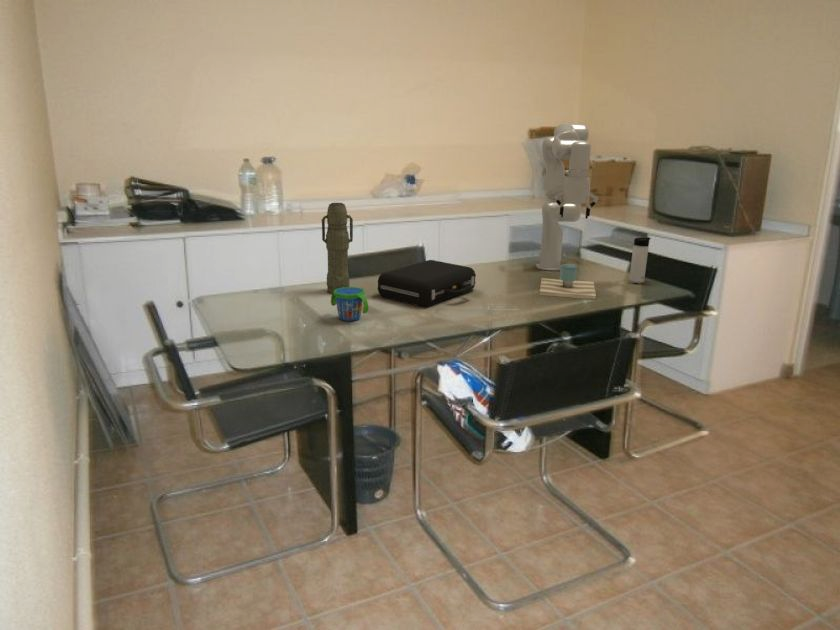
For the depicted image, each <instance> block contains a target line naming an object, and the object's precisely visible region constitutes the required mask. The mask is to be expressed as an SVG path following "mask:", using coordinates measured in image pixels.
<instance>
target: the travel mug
mask: <svg viewBox="0 0 840 630" xmlns="http://www.w3.org/2000/svg"><path fill="white" fill-rule="evenodd" d="M650 240H651V237H650V236H648V237H646V236H644V237H641V236H640V237H635V238H634V240H633V248H632V254H631V262H630V263H631V264H630V270H629V278H628V282H629V281H630V282H632V283H631V284H633V283H643V284H645V277H646V276H645V275H646V270H647V261H648V254H649V247H650V246H649V244H650ZM630 282H629V283H630Z"/></svg>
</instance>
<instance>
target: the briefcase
mask: <svg viewBox="0 0 840 630" xmlns="http://www.w3.org/2000/svg"><path fill="white" fill-rule="evenodd" d="M476 277H477V275H476V272H475V270H474V269H473V268H472V267H470V266H466V265H459V264H456V263H455V264H454V263H451V262H450V263H449V262H445V261H439V260H436V259H435V260H434V259H428V260H425V261H421V262H418V263H414V264H411V265H407V266H403V267H400V268H399V267H398V268H396V269H392V270H389V271H385V272H382V273H381V274H379V276H378V278H377V292H378V295H380V296H381V297H383V298H385V299H390V300H394V301H397V302H400V303H401V302H402V303H406V304H410V305H414V306H418V307H421V308H422V307H423V308H426V307H429V306H432V305H435V304H437V303H440V302H442V301H446V300H448V299H451V298H453V297H456V296H459V295H463V294H465V293H469V292H471V291H472V290H474V288H475V285H476Z"/></svg>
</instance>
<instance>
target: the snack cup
mask: <svg viewBox="0 0 840 630" xmlns="http://www.w3.org/2000/svg"><path fill="white" fill-rule="evenodd" d="M330 304H331V306H336V310H337V313H338V314H337V315H338V319H339V320H341V321H346V322H352V321H357V320H360V318H361V316H362V315H361V313H363V314H367V313H368V311H369V302H368V300H367V296H366V295H365V289H363V288H362V287H361V288H360V287H357V286H355V287H354V286H349V287H342V288H338V289H336V290H334V291H333V293H332V294H331V298H330ZM362 308H363V309H362Z"/></svg>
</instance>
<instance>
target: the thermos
mask: <svg viewBox="0 0 840 630" xmlns="http://www.w3.org/2000/svg"><path fill="white" fill-rule="evenodd" d="M347 210H348V209H347V207H346V204H344V203H343V202H331V203H329V204H328V207H327V212H326V215H324V216H323V217H322V218H321V238H322V239H321V240H322V241H323V242H324V243H325V245H326V246H325V247H326V251H327V274H326V286H327V290H326V291H327V293H328V294H331V295H332V293H333V291H334V290H336V289H338V288H342V287H350V275H349V255H348V254H349V251H348V250H349V248H350V243H352V242H353V240H354V239H353V238H354V233H353V232H354V231H353V230H354V228H353V227H354V224H353V223H354V221H353V217H352V216H351V215H348V211H347ZM348 219H349V231H348V227H347V225H348ZM326 220H327V221H326ZM325 221H326V222H325ZM326 223H327V227H326V225H325V224H326ZM326 229H327V231H326Z"/></svg>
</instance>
